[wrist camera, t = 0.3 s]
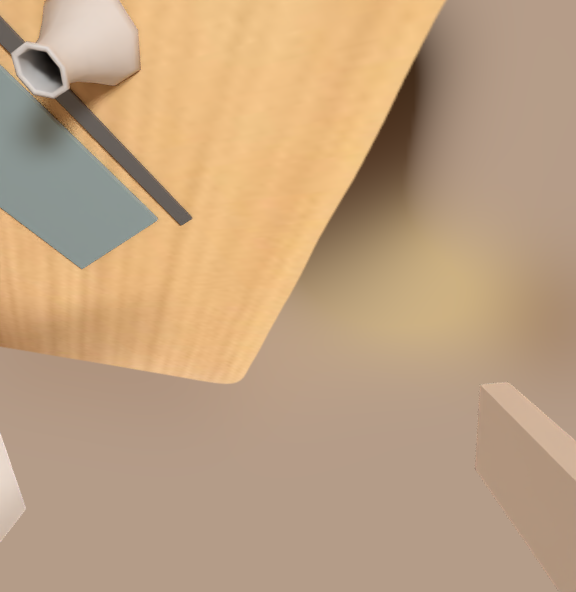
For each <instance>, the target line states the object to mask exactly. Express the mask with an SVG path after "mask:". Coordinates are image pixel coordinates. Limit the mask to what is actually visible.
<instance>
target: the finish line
mask: <svg viewBox="0 0 576 592" xmlns="http://www.w3.org/2000/svg"><path fill="white" fill-rule="evenodd" d="M24 43H25V42H24V41H23V39H22V38H21V37H20V36H19V35H18V34H17V33H16V32H15V31H14V30H13V29H12V28H11V27H10V26H9V25H8V24H7V23H6V22H5V21H4V20H3V18H2V17H1V16H0V44H1V45H2V46H3V47H4V48H5V49H6V50H7V51H8V52H9V53H10V54H11V53H12V52H13V51H14V50H16V49H17V48H18V47H20V46H21V45H22V44H24ZM55 99H56V100H57V101H58V102H59V103H60V104H61V105H62V106H63V107H64V108H65V109H66V110H67V111H68V112H69V113H70V114H71V115H72V116H73V117H74V118H75V119H76V120H77V121H78V122H79V123H80V124H81V125H82V126H83V127H84V128H85V129H86V130H87V131H88V132H89V133H90V134H91V135H92V136H93V137H94V138H95V139H96V140H97V141H98V142H99V143H100V144H101V145H102V146H103V147H104V148H105V149H106V150H107V151H108V152H109V153H110V154H111V155H112V156H113V157H114V158H115V159H116V160H117V161H118V162H119V163H120V164H121V165H122V166H123V167H124V168H125V170H126V171H127V172H128V173H129V174H130V175H131V176H132V177H133V178H134V179H135V180H136V181H137V182H138V183H139V184H140V185H141V186H142V187H143V188H144V189H145V190H146V191H147V192H148V193H149V194H150V195H151V196H152V197H153V198H154V199H155V200H156V201H157V202H158V203H159V204H160V205H161V206H162V207H163V208H164V209H165V210H166V211H167V212H168V213H169V214H170V215H171V216H172V217H173V218H174V219H175V220H176V221H177V222H178V223H179V224H180V225H183V224H185V223H186V222H188V221H189V220H191V219H192V217H191V216H190V215H189V214H188V212H187V211H186V210H185V209H184V208H183V207H182V206H181V205H180V204H179V203H178V202H177V201H176V200H175V199H174V198H173V197H172V196H171V195H170V194H169V193H168V192H167V190H166V189H165V188H164V187H163V186H162V185H161V184H160V183H159V182H158V181H157V180H156V179H155V178H154V177H153V176H152V175H151V174H150V173H149V172H148V171H147V169H146V168H145V167H144V166H143V165H142V164H141V163H140V162H139V161H138V160H137V159H136V158H135V157H134V156H133V155H132V154H131V153H130V152H129V151H128V150H127V149H126V147H125V146H124V145H123V144H122V143H121V142H120V141H119V140H118V139H117V138H116V137H115V136H114V135H113V134H112V133H111V132H110V131H109V130H108V129H107V128H106V126H105V125H104V124H103V123H102V122H101V121H100V120H99V119H98V118H97V117H96V116H95V115H94V114H93V113H92V112H91V111H90V110H89V109H88V108H87V107H86V106H85V104H84V103H83V102H82V101H81V100H80V99H79V98H78V97H77V96H76V95H75V94H74V93H73V92H72V91H71V90H70V89H68V90H67V91H65V92H64V93H62V94H61V95H59V96H58V97H56V98H55Z"/></svg>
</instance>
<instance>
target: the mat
mask: <svg viewBox="0 0 576 592" xmlns="http://www.w3.org/2000/svg"><path fill="white" fill-rule="evenodd" d="M0 208H2V209H3V210H4V211H6V212H7V213H8V214H9V215H11V216H12V217H13V218H15V219H16V220H17V221H19V222H20V223H21V224H23V225H24V226H25V227H27V228H28V229H29V230H31V231H32V232H33V233H35V234H36V235H37V236H39V237H40V238H41V239H43V240H44V241H45V242H47V243H48V244H49V245H51V246H52V247H53V248H55V249H56V250H57V251H58V252H60V253H61V254H62V255H64V256H65V257H66V258H68V259H69V260H70V261H72V262H73V263H74V264H76V265H77V266H78V267H80V268H81V269H83V268H85V267H86V266H88V265H89V264H91V263H92V262H94V261H95V260H97V259H99V258H100V257H102V256H103V255H105V254H106V253H108V252H109V251H111V250H112V249H114V248H116V247H117V246H119V245H120V244H122V243H123V242H125V241H126V240H128V239H130V238H131V237H133V236H134V235H136V234H137V233H139V232H140V231H142V230H143V229H145V228H147V227H148V226H150V225H151V224H153V223H154V222H156V221H157V219H158V218H157V217H156V216H155V215H154V214H153V213H152V212H151V211H150V210H149V209H148V208H147V207H146V206H145V205H144V204H143V203H142V202H141V201H140V200H139V199H138V198H137V197H136V196H135V195H134V194H132V193H131V192H130V191H129V190H128V189H127V188H126V187H125V186H124V185H123V184H122V183H121V182H120V181H119V180H118V179H117V178H116V177H115V176H114V175H113V174H112V173H111V172H110V171H109V170H108V169H107V168H106V167H105V166H104V165H103V164H102V163H101V162H100V161H99V160H98V159H97V158H96V157H95V156H93V155H92V154H91V153H90V152H89V151H88V150H87V149H86V148H85V147H84V146H83V145H82V144H81V143H80V142H79V141H78V140H77V139H76V138H75V137H74V136H73V135H72V134H71V133H70V132H69V131H68V130H67V129H66V128H65V127H64V126H63V125H62V124H61V123H60V122H59V121H58V120H57V119H56V118H54V117H53V116H52V115H51V114H50V113H49V112H48V111H47V110H46V109H45V108H44V107H43V106H42V105H41V104H40V103H39V102H38V101H37V100H36V99H35V98H34V97H33V96H32V95H31V94H30V93H29V92H28V91H27V90H26V89H25V88H24V87H23V86H22V85H21V84H20V83H19V82H18V81H17V80H15V79H14V78H13V77H12V76H11V75H10V74H9V73H8V72H7V71H6V70H5V69H4V68H3V67H2V66H1V65H0Z"/></svg>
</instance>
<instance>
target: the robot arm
mask: <svg viewBox="0 0 576 592" xmlns="http://www.w3.org/2000/svg"><path fill="white" fill-rule="evenodd" d="M477 427H478V428H477V443H476V460H475V470H476V471H477V473H478V474H479V476H480V477H481V478H482V480H483V481H484V483H485V484H486V486H487V487H488V489H489V490H490V492H491V493H492V495H493V496H494V498H495V499H496V500H497V502H498V503H499V505H500V506H501V508H502V509H503V511H504V512H505V514H506V515H507V516H508V518H509V519H510V521H511V522H512V524H513V525H514V527H515V528H516V530H517V531H518V533H519V534H520V535H521V537H522V538H523V540H524V541H525V543H526V544H527V546H528V547H529V549H530V550H531V552H532V553H533V554H534V556H535V557H536V559H537V560H538V562H539V563H540V565H541V566H542V568H543V569H544V570H545V572H546V573H547V575H548V576H549V578H550V579H551V581H552V582H553V584H554V585H555V587H556V588H557V590H558V591H559V592H576V441H575V440H574V439H573V438H572V437H571V436H569V435H568V434H567V433H566V432H565V431H564V430H563V429H561V428H560V427H559V426H558V425H557V424H556V423H554V422H553V421H552V420H551V419H550V418H549V417H548V416H546V415H545V414H544V413H543V412H542V411H541V410H540V409H538V408H537V407H536V406H535V405H534V404H533V403H532V402H530V401H529V400H528V399H527V398H526V397H524V395H522V394H521V393H520V392H519V391H518V390H517V389H516V388H514V387H513V386H512V385H511V384H510V383H509V382H503V383H491V384H482V385H480V392H479V409H478V426H477ZM25 510H26V507H25V504H24V501H23V498H22V495H21V492H20V489H19V487H18V483H17V481H16V478H15V475H14V472H13V469H12V466H11V463H10V460H9V457H8V454H7V451H6V448H5V445H4V443H3V439H2V437H1V434H0V542H1V540H2V539H3V538H4V537H5V535H6V534H7V533H8V531H9V530H10V529H11V528H12V526H13V525H14V524H15V522H16V521H17V520H18V519H19V517H20V516H21V515H22V513H23V512H24V511H25Z"/></svg>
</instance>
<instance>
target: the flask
mask: <svg viewBox="0 0 576 592" xmlns="http://www.w3.org/2000/svg"><path fill="white" fill-rule="evenodd" d="M11 56H12V60H13V64H14V67H15V71H16V75H17V77H18V78H19V79H20V80H21V81H22V82H23V83H24V85H25V86H26V87H27V88H28V89H29V90H30V91H31V93H32V94H33V95H37V96H42V97H47V98H53V99H55V98H56V97H58V96H59V95H61V94H62V93H64V92H65V91H67V90H68V89H70V83H73V82H90V83H99V84H105V85H113V86H115V85H117V84H118V83H120V82H122V81H123V80H125V79H126V78H128V77H129V76H131V75H133V74H134V73H136V72H137V71H139V70H141V67H140V52H139V37H138V29H137V28H136V26H135V24H134V23H133V21H132V20H131V18H130V17H129V15H128V13H127V12H126V10H125V9H124V7H123V6H122V4H121V2H120V1H119V0H46V1H45V3H44V9H43V20H42V25H41V30H40V35H39V39H38V40H37V42H36V43H34V42H28V41H26V42H25V43H24V44H22V45H21V46H20V47H18V48H17V49H16V50H14V51H13V52H12V53H11Z"/></svg>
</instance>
